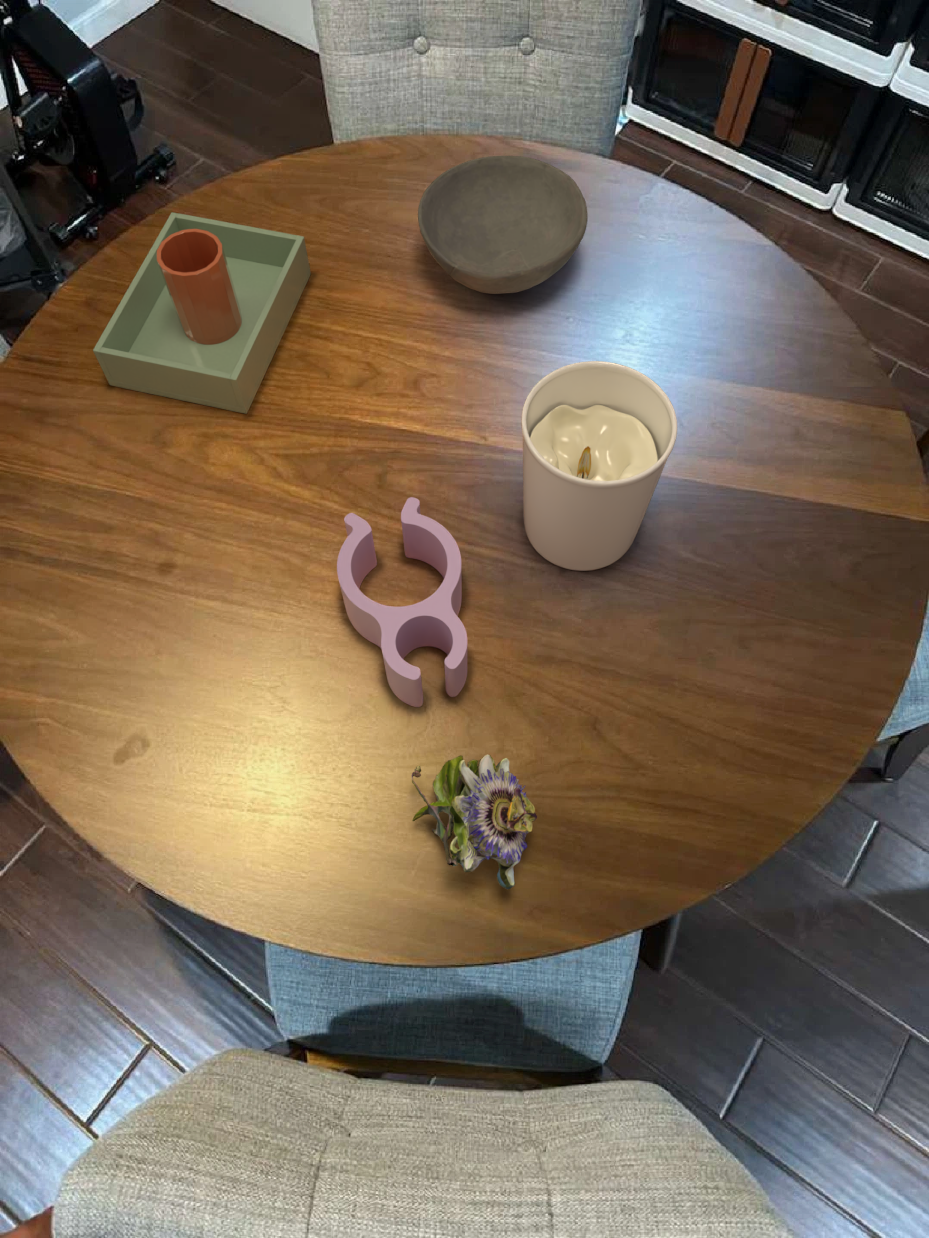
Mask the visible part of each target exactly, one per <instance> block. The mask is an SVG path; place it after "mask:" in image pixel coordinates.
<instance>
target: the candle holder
mask: <svg viewBox="0 0 929 1238" xmlns="http://www.w3.org/2000/svg"><path fill="white" fill-rule="evenodd" d="M521 410H522V411H521V417H520V419H521V420H520V426H521V427H520V428H521V432H522V509H523V526H524V530H525V533H526V536H527V540H528V541H529V544H530V545H531V546H532V547H533V549H534V550H535V551H536V552H537V553H538V554H539V555H540V556H541V557H542V558H544V559H545V560H546V561H548V562H550V563H551V564H553V565H555V566H557V567H559V568H563V569H565V570H570V571H571V570H572V571H577V572H583V571H584V572H585V571H586V572H587V571H595V570H599V569H602V568H605V567H608V566H610V565H612V564H614V563H615V562H617V561H618V560H620V559H621V558H622V557H623V556H624V555H625V554H626V553H628V551H629V550H630V548H631V547H632V544H633V543H634V541H635V539H636V536H637V535H638V532H639V530H640V528H641V525H642V523H643V520H644V518H645V516H646V513H647V511H648V507H649V506H650V504H651V501H652V498H653V495H654V493H655V491H656V488H657V486H658V483H659V481H660V478H661V476H662V473H663V471H664V468H665V466H666V463H667V461H668V458H669V457H670V455H671V454H672V451H673V449H674V447H675V444H676V442H677V436H678V420H677V419H678V418H677V414H676V411H675V408H674V405H673V404H672V402H671V400H670V398H669V396H668V395H667V394H666V392H665V391H664V390H663V388H661V386H660V385H658V383H656V382H655V381H654V380H653V379H652V378H650V377H649V376H647V375H646V374H644V373H642V372H641V371H638V370H637V369H635V368H632V367H629V366H628V365H627V366H626V365H624V364H621V363H616V362H610V361H601V360H588V361H586V360H585V361H579V362H575V363H570V364H567V365H564V366H561V367H559V368H557V369H555V370H553V371H551V372H550V373H548V374H546V375H545V376H543V377H542V378H540V380H539V381H538V382H536V383H535V385H534V386H533V387H532V388H531V389H530V391H529V393H528V395H527V396H526V398H525V400H524V403H523V406H522V409H521Z"/></svg>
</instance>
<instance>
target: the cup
mask: <svg viewBox="0 0 929 1238" xmlns="http://www.w3.org/2000/svg"><path fill="white" fill-rule="evenodd" d="M157 262H158V265H159V267H160V270H161V273H162V276H163V278H164V281H165V284H166V287H167V289H168V292H169V295H170V298H171V300H172V303H173V306H174V309H175V311H176V314H177V317H178V320H179V322H180V325H181V327H182V329H183V332H184V333H185V335H186V336H187V337H188V338H189V339H190V340H192V341H194V342H196V343H199V344H205V345H213V344H218V343H222V342H224V341H226V340H228V339H230V338H232V337H233V336H234V335H235V334H236V333H237V332H238V331H239V329H240V327H241V324H242V315H241V310H240V306H239V303H238V299H237V295H236V292H235V288H234V285H233V281H232V278H231V274H230V271H229V267H228V264H227V260H226V257H225V253H224V250H223V246H222V243H221V242H220V240H219V239H218V237H217V236H215V235H214V234H212V233H210V232H209V231H206V230H200V229H186V230H181V231H179V232H176V233H173V234H171V235H170V236H168V237H167V238H166V239H165V240H163V241H162V242H161V244H160V246H159V248H158V249H157Z"/></svg>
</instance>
